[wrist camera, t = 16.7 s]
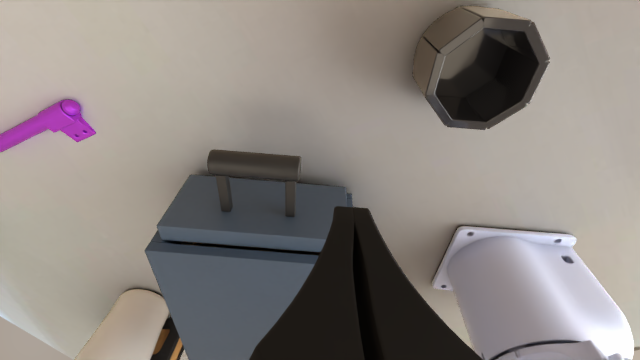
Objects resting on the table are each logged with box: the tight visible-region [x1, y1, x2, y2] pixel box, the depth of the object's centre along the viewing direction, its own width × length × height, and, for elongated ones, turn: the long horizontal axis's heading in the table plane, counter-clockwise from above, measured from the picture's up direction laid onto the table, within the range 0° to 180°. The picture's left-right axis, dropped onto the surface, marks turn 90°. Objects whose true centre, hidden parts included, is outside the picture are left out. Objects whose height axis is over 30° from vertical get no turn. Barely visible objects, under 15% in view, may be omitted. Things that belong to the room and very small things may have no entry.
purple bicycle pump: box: [0, 100, 96, 152], centre depth 23 cm, size 3×1×16 cm
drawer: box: [157, 150, 347, 255], centre depth 23 cm, size 18×11×5 cm, turn 176°
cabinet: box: [145, 193, 353, 360], centre depth 25 cm, size 14×12×7 cm
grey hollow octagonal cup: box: [412, 6, 550, 130], centre depth 16 cm, size 5×5×4 cm
